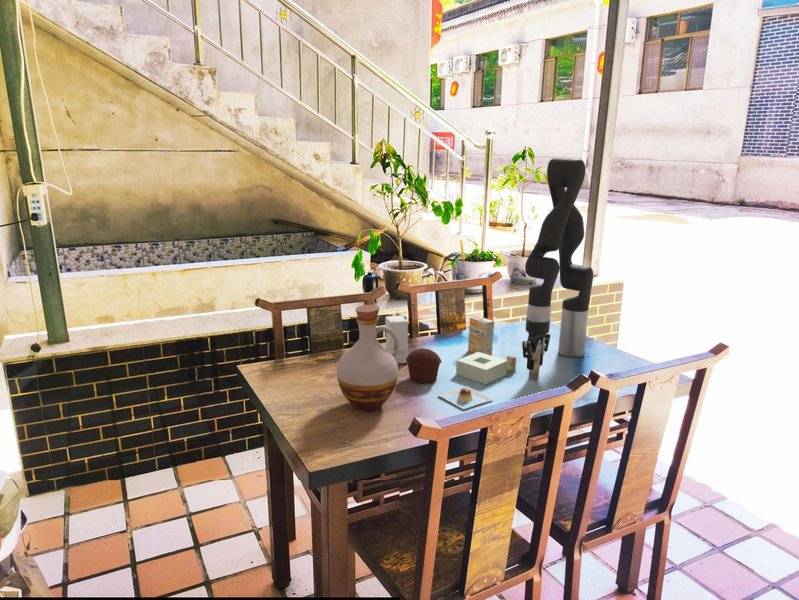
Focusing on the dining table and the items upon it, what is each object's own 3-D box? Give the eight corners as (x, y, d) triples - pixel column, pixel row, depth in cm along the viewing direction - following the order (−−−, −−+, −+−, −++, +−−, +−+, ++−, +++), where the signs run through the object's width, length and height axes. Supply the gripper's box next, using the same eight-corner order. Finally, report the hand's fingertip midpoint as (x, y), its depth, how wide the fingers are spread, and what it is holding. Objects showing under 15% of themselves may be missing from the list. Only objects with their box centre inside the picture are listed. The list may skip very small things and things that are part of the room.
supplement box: (467, 351, 224) (468, 317, 220) (476, 348, 227) (477, 315, 223) (483, 357, 217) (485, 322, 214) (492, 354, 221) (494, 320, 217)
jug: (382, 387, 190) (383, 295, 182) (414, 408, 175) (416, 309, 167) (326, 401, 179) (324, 304, 172) (355, 424, 165) (354, 320, 157)
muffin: (398, 379, 196) (398, 350, 193) (418, 370, 205) (418, 342, 202) (428, 389, 189) (429, 359, 186) (447, 378, 198) (448, 349, 195)
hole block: (477, 365, 210) (478, 351, 208) (506, 374, 202) (507, 360, 200) (456, 374, 201) (456, 360, 200) (485, 384, 193) (486, 369, 192)
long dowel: (531, 375, 201) (534, 341, 198) (540, 378, 199) (543, 343, 196) (526, 377, 199) (529, 343, 196) (535, 380, 197) (537, 346, 194)
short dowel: (509, 368, 207) (510, 354, 206) (517, 370, 205) (518, 357, 204) (504, 370, 205) (504, 356, 204) (511, 373, 203) (512, 359, 202)
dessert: (437, 398, 184) (437, 383, 183) (466, 389, 191) (467, 375, 189) (463, 412, 174) (464, 397, 173) (493, 403, 181) (494, 388, 180)
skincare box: (408, 364, 210) (409, 321, 206) (389, 365, 208) (390, 322, 204) (402, 355, 218) (403, 314, 214) (384, 357, 216) (384, 315, 212)
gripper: (539, 311, 201) (535, 359, 206) (516, 319, 191) (512, 369, 196) (559, 315, 196) (555, 364, 201) (536, 324, 186) (532, 376, 191)
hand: (534, 366), depth 198 cm, fingers open, 5 cm apart
